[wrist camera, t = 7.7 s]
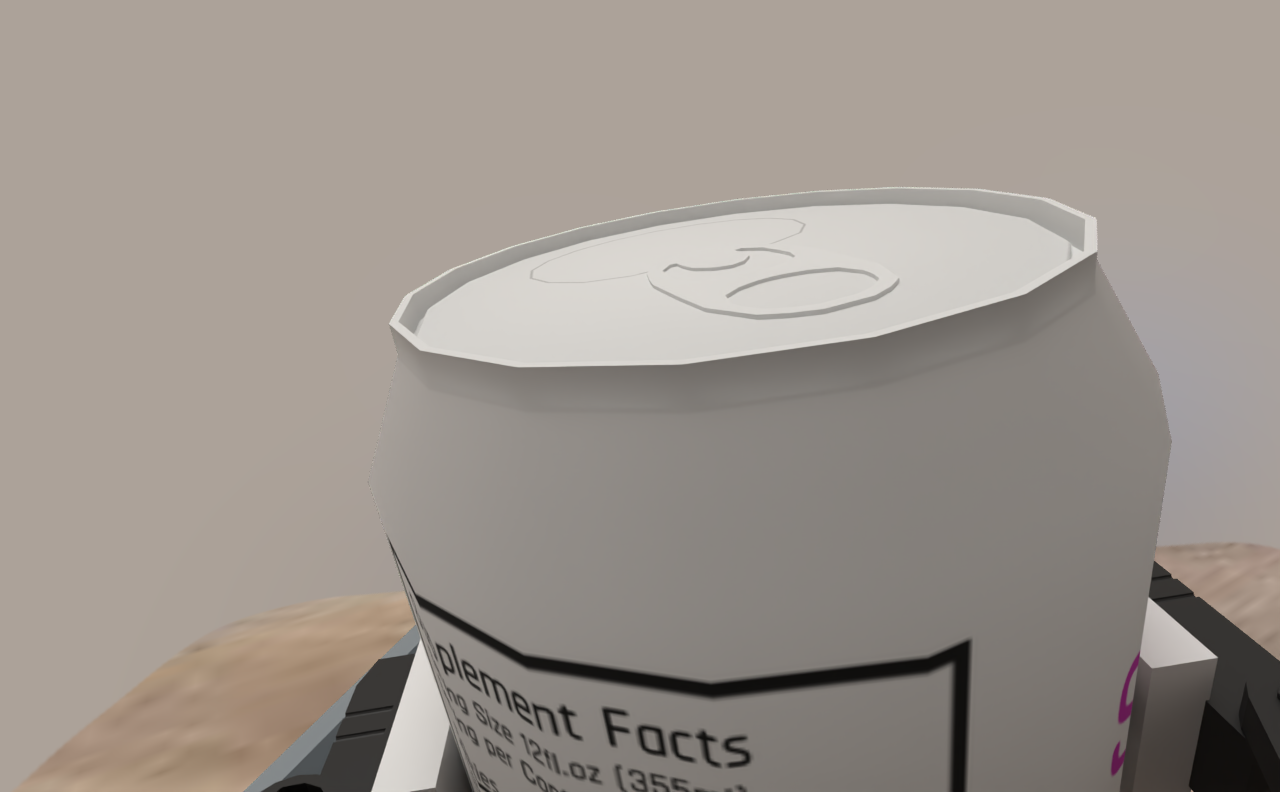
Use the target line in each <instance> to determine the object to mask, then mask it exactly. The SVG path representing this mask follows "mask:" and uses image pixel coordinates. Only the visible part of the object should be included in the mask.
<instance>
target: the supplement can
mask: <svg viewBox="0 0 1280 792" xmlns="http://www.w3.org/2000/svg"><path fill="white" fill-rule="evenodd" d="M389 326H390V329H391V333H392V336H393V339H394V343H395V346H396V349H397V353H398V357H397V361H396V365H395V370H394V374H393V379H392V383H391V387H390V391H389V395H388V400H387V404H386V408H385V413H384V416H383V421H382V425H381V429H380V434H379V438H378V442H377V446H376V451H375V455H374V459H373V464H372V468H371V472H370V476H369V481H368V484H369V486H370V490H371V493H372V496H373V499H374V501H375V504H376V507H377V510H378V513H379V516H380V519H381V522H382V525H383V528H384V531H385V534H386V537H387V540H388V543H389V546H390V549H391V552H392V555H393V558H394V561H395V564H396V566H397V569H398V573H399V576H400V578H401V582H402V584H403V587H404V590H405V593H406V596H407V599H408V602H409V605H410V608H411V611H412V614H413V617H414V620H415V623H416V626H417V629H418V632H419V635H420V638H421V641H422V644H423V647H424V650H425V653H426V656H427V658H428V661H429V664H430V667H431V670H432V673H433V676H434V679H435V682H436V685H437V688H438V691H439V694H440V697H441V700H442V703H443V706H444V709H445V712H446V715H447V718H448V721H449V724H450V727H451V730H452V733H453V735H454V738H455V741H456V744H457V747H458V750H459V753H460V756H461V759H462V762H463V765H464V768H465V771H466V774H467V777H468V780H469V783H470V786H471V789H472V792H1119V791H1120V784H1121V777H1122V770H1123V764H1124V757H1125V750H1126V744H1127V737H1128V730H1129V724H1130V717H1131V710H1132V704H1133V697H1134V690H1135V684H1136V677H1137V670H1138V664H1139V657H1140V650H1141V643H1142V637H1143V630H1144V623H1145V617H1146V610H1147V603H1148V597H1149V590H1150V583H1151V577H1152V570H1153V563H1154V557H1155V550H1156V543H1157V536H1158V530H1159V523H1160V516H1161V510H1162V502H1163V496H1164V490H1165V483H1166V476H1167V469H1168V462H1169V456H1170V450H1171V443H1172V441H1171V436H1170V431H1169V426H1168V421H1167V416H1166V410H1165V405H1164V400H1163V395H1162V390H1161V385H1160V379H1159V374H1158V372H1157V370H1156V369H1155V367H1154V365H1153V363H1152V361H1151V359H1150V358H1149V356H1148V354H1147V352H1146V350H1145V348H1144V346H1143V344H1142V342H1141V341H1140V339H1139V337H1138V335H1137V333H1136V331H1135V329H1134V327H1133V326H1132V324H1131V322H1130V320H1129V318H1128V317H1127V314H1126V313H1125V311H1124V309H1123V307H1122V305H1121V303H1120V301H1119V300H1118V298H1117V296H1116V294H1115V292H1114V290H1113V288H1112V286H1111V285H1110V283H1109V281H1108V279H1107V277H1106V275H1105V274H1104V272H1103V270H1102V268H1101V266H1100V264H1099V262H1098V260H1097V219H1096V218H1094V217H1092V216H1090V215H1087V214H1085V213H1083V212H1080V211H1078V210H1076V209H1073V208H1071V207H1068V206H1066V205H1064V204H1061V203H1059V202H1056V201H1054V200H1052V199H1049V198H1043V197H1035V196H1028V195H1021V194H1013V193H1006V192H998V191H992V190H984V189H967V188H966V189H965V188H920V187H889V188H869V189H847V190H828V191H812V192H802V193H792V194H784V195H773V196H765V197H755V198H744V199H735V200H728V201H722V202H715V203H709V204H703V205H696V206H689V207H684V208H676V209H670V210H664V211H657V212H652V213H647V214H642V215H637V216H633V217H628V218H623V219H618V220H614V221H609V222H604V223H599V224H594V225H590V226H585V227H580V228H576V229H573V230H570V231H566V232H562V233H558V234H555V235H551V236H548V237H544V238H540V239H536V240H533V241H529V242H526V243H522V244H519V245H515V246H511V247H509V248H506V249H503V250H500V251H498V252H495V253H492V254H490V255H487V256H484V257H482V258H479V259H476V260H474V261H471V262H468V263H466V264H463V265H460V266H458V267H455V268H453V269H450V270H448V271H447V272H445V273H443V274H441V275H440V276H438V277H436V278H435V279H433V280H431V281H429V282H428V283H426V284H424V285H423V286H421V287H419V288H418V289H416V290H414V291H412V292H411V293H409V294H407V295H406V296H405V297H404V299H403V300H402V302H401V304H400V306H399V307H398V309H397V311H396V312H395V314H394V316H393V318H392V319H391V321H390V323H389Z"/></svg>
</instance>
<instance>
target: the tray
mask: <svg viewBox="0 0 1280 792" xmlns="http://www.w3.org/2000/svg"><path fill="white" fill-rule="evenodd" d="M420 639H421V638H420V635H419V632H418V629H417V626H416V625H415V626H414V627H413V628H412V629H411V630H410V631H409V632H408V633H407V634H406V635H405V636H404V637H403V638H402V639H401V640H400V641H399V642H398V643H396V644H395V645H394V646H393V647H392V648H391V649H390V650H389V651H388V652H387V653H386V654H385V655H384V656H383V657H382V658H381V659H384V658H390V657H396V656H402V655H408V654H414V653H416V651H417V648H418V645H419V642H420ZM367 673H368V672H367ZM367 673H365V674H364V675H363V676H362V677H361V678H360V679H359V680H358V681H357V682H356V683H355V684H354V685H353V686H352V687H351V688H350V689H349V690H348V691H347V692H346V693H345V694H344V695H343V696H342V697H341V698H340V699H339V700H338V701H337V702H336V703H334V704H333V705H332V706H331V707H330V708H329V709H328V710H327V711H326V712H325V713H324V714H323V715H322V716H321V717H320V718H319V719H318V720H317V721H316V722H315V723H314V724H313V725H312V726H311V727H310V728H309V729H308V730H307V731H306V732H305V733H303V734H302V735H301V736H300V737H299V738H298V739H297V740H296V741H295V742H294V743H293V744H292V745H291V746H290V747H289V748H288V749H287V750H286V751H285V752H284V753H283V754H282V755H281V756H280V757H279V758H278V759H277V760H276V761H275V762H274V763H273V764H271V765H270V766H269V767H268V768H267V769H266V770H265V771H264V772H263V773H262V774H261V775H260V776H259V777H258V778H257V779H256V780H255V781H254V782H253V783H252V784H251V785H250V786H249V787H248V788H247V789H246V790H245V791H244V792H261V791H263V790H264V789H266V788H267V787H269V786H271V785H272V784H274V783H276V782H279V781H282V780H284V779H287V778H290V777H293V776H296V775H313V774H318V775H320V774H321V771H322V769H323V766H324V764H325V761H326V759H327V756H328V754H329V752H330V749H331V747H332V744H333V742H336V734H337V732H338V729H339V727H340V725H341V722H342V720H343V719H345V712H346V710H347V707H348V705H349V702H350V700H351V698H352V695H353V693H354V690H355V688H356V685H357V684H358V683H359V682H360V681H361V680H362V678H363V677H364V676H365V675H366V674H367Z"/></svg>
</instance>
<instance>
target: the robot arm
mask: <svg viewBox="0 0 1280 792" xmlns="http://www.w3.org/2000/svg"><path fill="white" fill-rule="evenodd" d="M1191 789H1192V790H1193V792H1280V661H1279V660H1278V659H1276V658H1275V657H1274V656H1273V655H1271V654H1270V653H1269V652H1268V651H1266V650H1265V649H1264V648H1263V647H1261V646H1260V645H1259V644H1258V643H1256V642H1255V641H1254V640H1253V639H1251V638H1250V637H1249V636H1248V635H1246V634H1245V633H1244V632H1243V631H1241V630H1240V629H1239V628H1238V627H1236V626H1235V625H1234V624H1233V623H1231V622H1230V621H1229V620H1228V619H1226V618H1225V617H1224V616H1223V615H1221V614H1220V613H1219V612H1218V611H1216V610H1215V609H1214V608H1213V607H1211V606H1210V605H1209V604H1208V603H1206V602H1205V601H1204V600H1203V599H1201V598H1200V597H1195V596H1194V592H1193V591H1191V590H1190V589H1189V588H1188V587H1186V586H1185V585H1184V584H1183V583H1181V582H1180V581H1179V580H1178V579H1173V578H1172V576H1171V574H1170V573H1169V572H1168V571H1166V570H1165V569H1164V568H1163V567H1161V566H1160V565H1159V564H1158V563H1156V562H1155V561H1154V563H1153V570H1152V577H1151V583H1150V590H1149V597H1148V603H1147V610H1146V617H1145V623H1144V630H1143V637H1142V643H1141V650H1140V657H1139V664H1138V670H1137V677H1136V684H1135V690H1134V697H1133V704H1132V710H1131V717H1130V724H1129V730H1128V737H1127V744H1126V750H1125V757H1124V764H1123V770H1122V777H1121V784H1120V791H1119V792H1191ZM261 792H472V789H471V786H470V783H469V780H468V777H467V774H466V771H465V768H464V765H463V762H462V759H461V756H460V753H459V750H458V747H457V744H456V741H455V738H454V735H453V733H452V730H451V727H450V724H449V721H448V718H447V715H446V712H445V709H444V706H443V703H442V700H441V697H440V694H439V691H438V688H437V685H436V682H435V679H434V676H433V673H432V670H431V667H430V664H429V661H428V658H427V656H426V653H425V650H424V647H423V644H422V641H421V639H420V642H419V645H418V648H417V651H416V653H414V654H408V655H402V656H396V657H390V658H384V659H379V660H378V661H377V662H376V663H375V664H374V666H373V667H372V668H371V669H370V670H369V671H368V673H367V674H366V675H365V676H364V677H363V678H362V680H361V681H360V682H359V683H358V684H357V685H356V688H355V690H354V693H353V695H352V698H351V700H350V702H349V705H348V707H347V710H346V712H345V719H343V720H342V722H341V725H340V727H339V729H338V732H337V734H336V742H333V744H332V747H331V749H330V752H329V754H328V756H327V759H326V761H325V764H324V766H323V769H322V771H321V774H320V775H318V774H313V775H296V776H293V777H290V778H287V779H284V780H282V781H279V782H276V783H274V784H272V785H271V786H269V787H267V788H266V789H264V790H263V791H261Z"/></svg>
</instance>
